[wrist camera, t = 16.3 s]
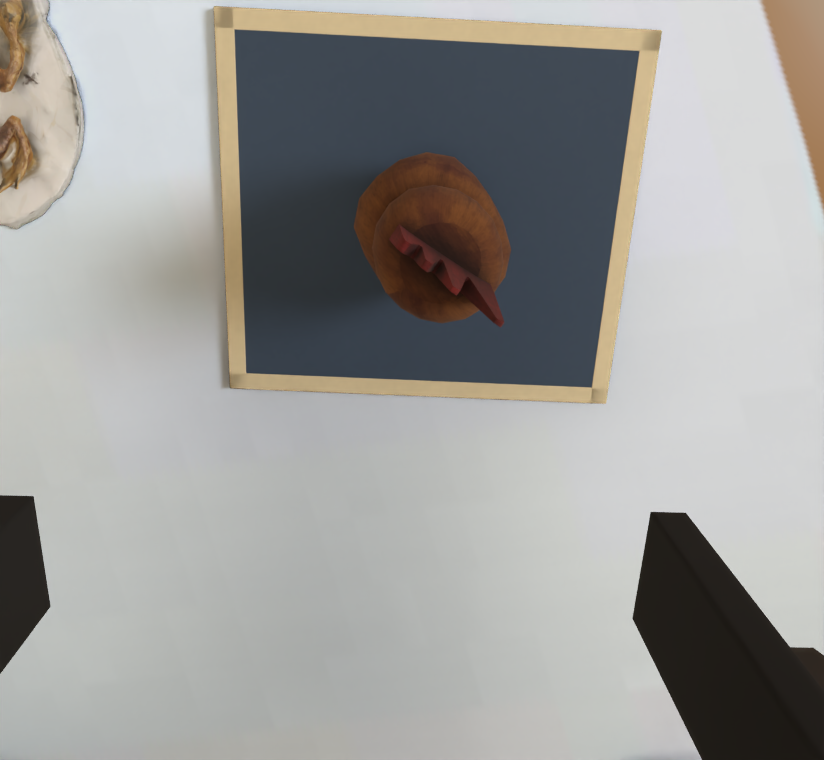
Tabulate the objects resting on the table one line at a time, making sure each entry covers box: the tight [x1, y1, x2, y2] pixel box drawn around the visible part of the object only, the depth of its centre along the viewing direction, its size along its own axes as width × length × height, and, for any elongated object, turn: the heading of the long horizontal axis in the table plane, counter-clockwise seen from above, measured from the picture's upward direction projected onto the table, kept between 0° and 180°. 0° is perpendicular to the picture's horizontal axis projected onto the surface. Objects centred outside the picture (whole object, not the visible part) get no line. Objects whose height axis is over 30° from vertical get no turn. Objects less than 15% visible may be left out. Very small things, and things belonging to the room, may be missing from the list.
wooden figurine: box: [354, 152, 511, 327], centre depth 27 cm, size 7×6×15 cm
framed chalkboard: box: [214, 6, 662, 404], centre depth 34 cm, size 20×18×1 cm
